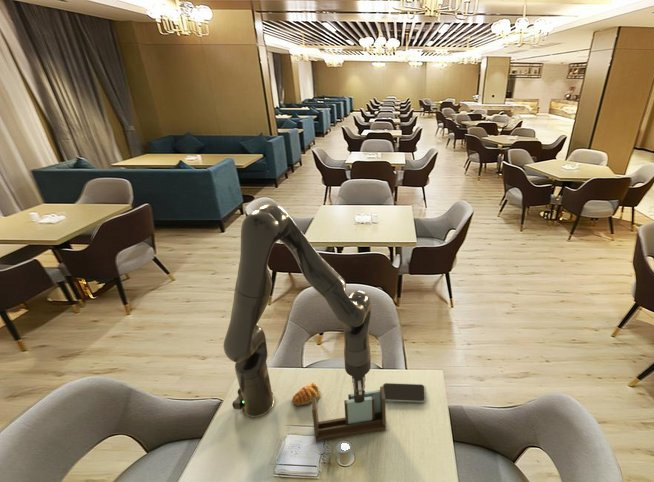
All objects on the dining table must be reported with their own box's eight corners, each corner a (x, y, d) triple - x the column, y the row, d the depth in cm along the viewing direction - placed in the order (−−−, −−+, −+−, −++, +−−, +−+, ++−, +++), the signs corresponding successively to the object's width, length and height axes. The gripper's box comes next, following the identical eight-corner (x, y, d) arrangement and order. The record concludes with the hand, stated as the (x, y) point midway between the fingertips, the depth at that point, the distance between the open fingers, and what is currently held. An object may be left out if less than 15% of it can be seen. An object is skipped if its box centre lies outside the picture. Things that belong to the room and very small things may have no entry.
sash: (345, 421, 113) (343, 387, 107) (374, 417, 115) (373, 383, 108) (346, 426, 111) (343, 392, 105) (374, 422, 113) (374, 388, 107)
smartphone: (425, 401, 122) (381, 399, 122) (424, 403, 122) (381, 401, 122) (424, 384, 129) (383, 382, 129) (424, 386, 129) (383, 384, 129)
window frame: (315, 425, 114) (312, 395, 108) (382, 414, 118) (382, 385, 112) (315, 442, 109) (311, 411, 103) (385, 430, 113) (385, 400, 107)
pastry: (297, 411, 118) (296, 403, 117) (289, 398, 123) (288, 390, 122) (322, 397, 124) (321, 389, 122) (313, 385, 129) (312, 377, 127)
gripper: (342, 341, 107) (345, 383, 114) (345, 375, 95) (348, 420, 102) (367, 338, 108) (368, 379, 115) (373, 371, 96) (374, 415, 103)
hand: (359, 398), depth 109 cm, fingers closed on sash, 2 cm apart
